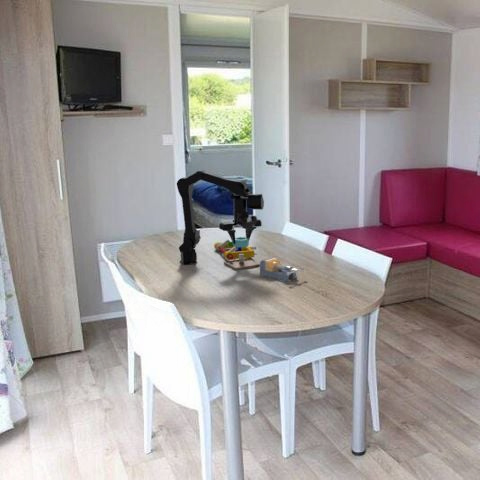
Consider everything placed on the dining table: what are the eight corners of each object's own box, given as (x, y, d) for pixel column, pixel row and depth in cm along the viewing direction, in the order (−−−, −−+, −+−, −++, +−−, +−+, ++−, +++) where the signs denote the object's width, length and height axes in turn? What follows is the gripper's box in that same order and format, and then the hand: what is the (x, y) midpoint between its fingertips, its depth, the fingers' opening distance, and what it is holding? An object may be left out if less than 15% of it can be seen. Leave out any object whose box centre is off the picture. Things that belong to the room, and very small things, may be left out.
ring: (238, 247, 236) (237, 240, 236) (231, 244, 242) (231, 238, 241) (250, 246, 239) (250, 239, 239) (243, 243, 245) (243, 236, 244)
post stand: (235, 270, 235) (235, 259, 234) (223, 264, 245) (223, 253, 244) (259, 266, 240) (259, 255, 239) (246, 260, 251) (246, 249, 250)
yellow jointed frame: (227, 249, 242) (213, 237, 270) (227, 262, 243) (213, 249, 272) (265, 245, 246) (248, 234, 275) (266, 258, 248) (248, 246, 276)
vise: (256, 275, 228) (256, 260, 226) (273, 270, 235) (273, 255, 233) (288, 284, 215) (288, 268, 213) (305, 278, 222) (305, 263, 220)
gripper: (229, 214, 226) (230, 250, 229) (267, 209, 234) (268, 244, 238) (218, 210, 235) (219, 244, 239) (255, 205, 244) (255, 239, 247)
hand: (240, 243), depth 240 cm, fingers closed on ring, 6 cm apart
